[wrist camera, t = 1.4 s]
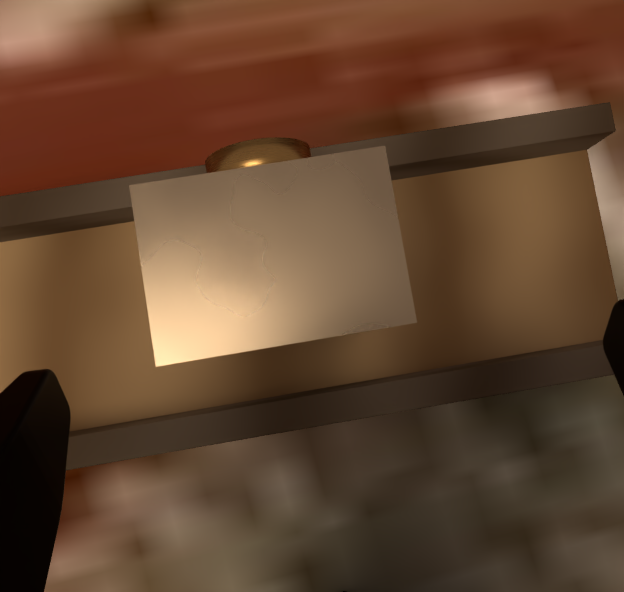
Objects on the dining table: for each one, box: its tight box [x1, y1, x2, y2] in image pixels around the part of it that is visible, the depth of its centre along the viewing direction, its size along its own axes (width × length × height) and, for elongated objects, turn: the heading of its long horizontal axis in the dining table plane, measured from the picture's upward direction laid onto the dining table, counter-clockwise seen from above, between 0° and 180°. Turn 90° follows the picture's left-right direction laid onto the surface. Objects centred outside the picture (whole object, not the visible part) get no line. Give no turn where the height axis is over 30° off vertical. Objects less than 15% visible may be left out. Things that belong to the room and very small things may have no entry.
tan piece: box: [0, 102, 618, 470], centre depth 21 cm, size 24×9×4 cm, turn 100°
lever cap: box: [129, 138, 417, 367], centre depth 16 cm, size 4×5×10 cm
